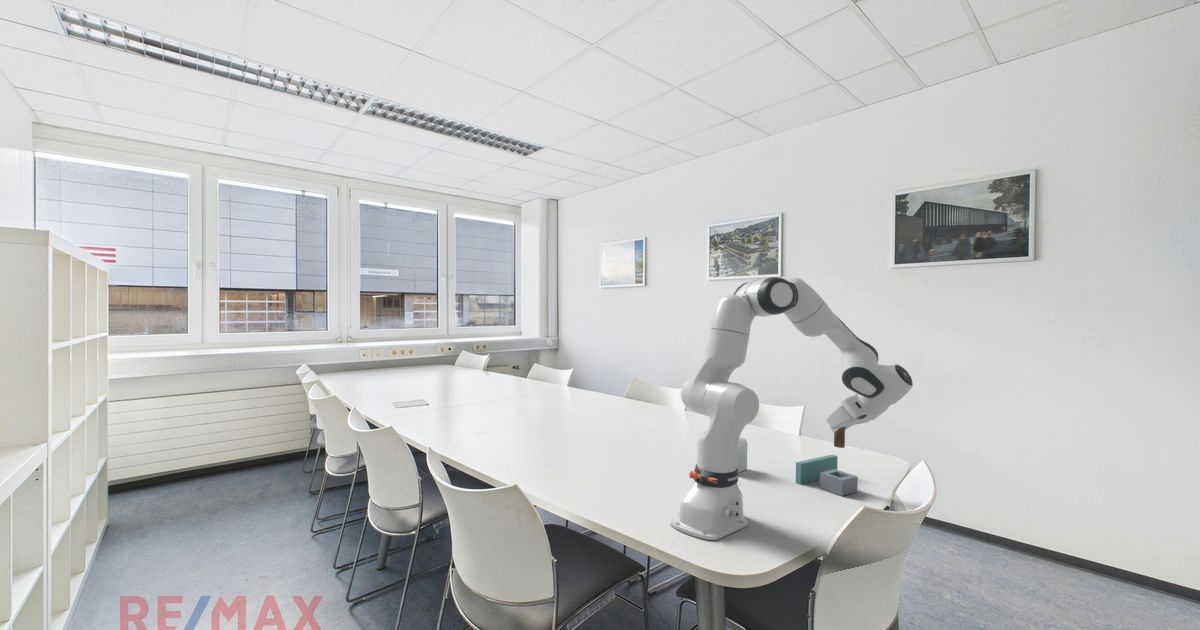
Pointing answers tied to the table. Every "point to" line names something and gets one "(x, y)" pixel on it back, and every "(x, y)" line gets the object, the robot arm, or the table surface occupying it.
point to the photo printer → (742, 455)
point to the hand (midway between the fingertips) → (837, 429)
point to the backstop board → (814, 468)
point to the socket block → (838, 482)
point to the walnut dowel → (839, 438)
